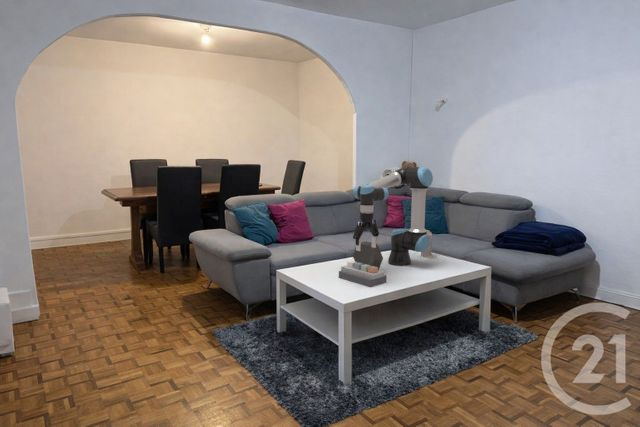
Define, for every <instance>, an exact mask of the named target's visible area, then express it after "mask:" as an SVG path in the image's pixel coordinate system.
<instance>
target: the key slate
mask: <svg viewBox="0 0 640 427" xmlns="http://www.w3.org/2000/svg"><path fill="white" fill-rule="evenodd" d="M361 265H364V264H363V263H354V269H358V270H360V269H361Z"/></svg>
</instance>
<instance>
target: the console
mask: <svg viewBox="0 0 640 427" xmlns="http://www.w3.org/2000/svg"><path fill="white" fill-rule="evenodd" d="M338 278H339V279H342V280H345V281H349V282H352V283H356V284H359V285H361V286H364V287H367V288H372V287H376V286H378V285H382V284H385V283H387V275H386V274H385V271H383V270H380V269H379V270H378V273H374V274H373V273H369V272H368V271H367V272H365V271H362V270H361V269H360V270H358V269H354V268H351V267H347V264H346V265H341V267H340V270H339V271H338Z"/></svg>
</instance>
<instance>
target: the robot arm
mask: <svg viewBox="0 0 640 427" xmlns="http://www.w3.org/2000/svg"><path fill="white" fill-rule="evenodd" d="M433 178H434V176H433V172H432V171H431V170H430V169H429V167H424V166H405V167H401V168H399V169H396V170H393V171H391V172H390V174H388V175H386V176H383V177H381V178H379V179H376V180H373V181H371V182H369V183H367V184H363V185H357V186H354V188H353V190H352V196H353V197H354V198H355V199H359V200H360V202H359V203H360V206H359V210H360V211H359V219H360V220H361V221H357V222H356V226H355V230H354V233H353V236H352V239H353V240H355V248H356V251H360V244H361V242H362V241H361V240H362V239H361V238H362V235H363V233H364V231H365V230H367V229H368V230H369V231H370V233H371V235H372V236H371V247H374V248H376V244H377V237H379V235H380V232H379V229H378V225H377V220H376V219H374V202H380V201H381V202H382V201H386V200H387V199H388V198H389V190H388V189H390V188H392V187H394V186H396V187H399V186H400V185H408V186H409V190H411V212H410V215H411V216H410V228H397V229H393V230H391V235H390V237H391V239H390V252H389V255H388V256H389V257H388V261H387V263H388V264H389V265H393V266H398V265H399V266H400V267H401V266H403V265H405V266H409V265H411V264H412V259H411V256H410V255H411V254H410V252H409V251H413V252H419V253H421V252H424V251H426V250H427V248H428V247H429V245H430V237H429V236H428V235H427V231H426V230H427V229H426V228H425V227H426V226H425V222H426V221H425V220H426V218H425V217H426V200H427V199H426V194H427V191H428V190H429V187H430V186H431V185H432V183H433ZM425 229H426V230H425Z"/></svg>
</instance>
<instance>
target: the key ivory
mask: <svg viewBox="0 0 640 427" xmlns="http://www.w3.org/2000/svg"><path fill="white" fill-rule="evenodd" d="M354 263H357V262H355V261H354V260H350V261H347V264H346V265H347V267H351V268H354Z"/></svg>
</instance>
